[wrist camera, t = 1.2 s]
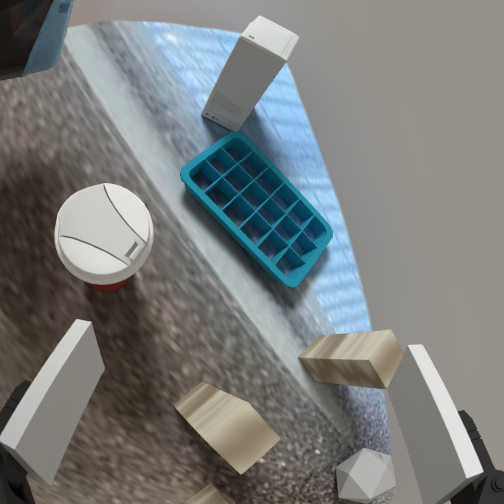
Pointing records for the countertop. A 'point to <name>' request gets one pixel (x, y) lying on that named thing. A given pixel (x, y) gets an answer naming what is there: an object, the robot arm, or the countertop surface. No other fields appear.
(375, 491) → the die
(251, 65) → the skincare box
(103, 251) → the paper cup
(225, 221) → the ice cube tray
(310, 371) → the post
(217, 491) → the post
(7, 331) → the countertop surface
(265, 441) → the post
